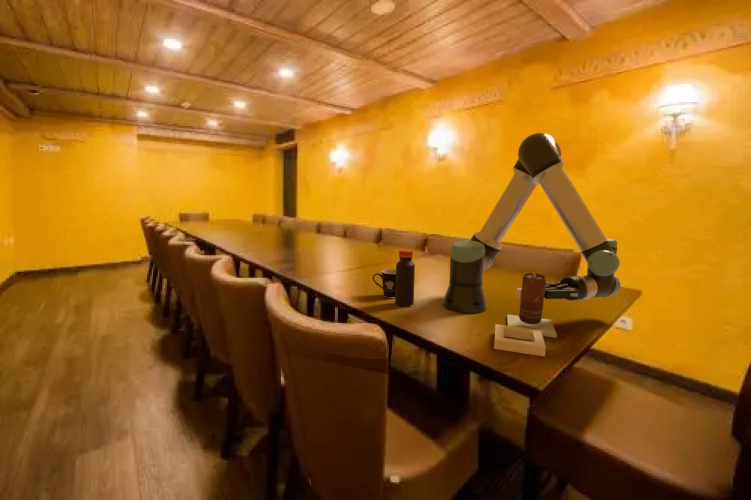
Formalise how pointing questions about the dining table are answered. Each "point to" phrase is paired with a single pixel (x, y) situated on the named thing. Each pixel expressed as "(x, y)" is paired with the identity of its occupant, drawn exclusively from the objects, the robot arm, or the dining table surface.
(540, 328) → the rubber mat
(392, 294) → the coffee mug
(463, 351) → the dining table surface
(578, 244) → the robot arm
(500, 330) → the cup holder
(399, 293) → the bottle
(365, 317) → the dining table surface
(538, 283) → the can
